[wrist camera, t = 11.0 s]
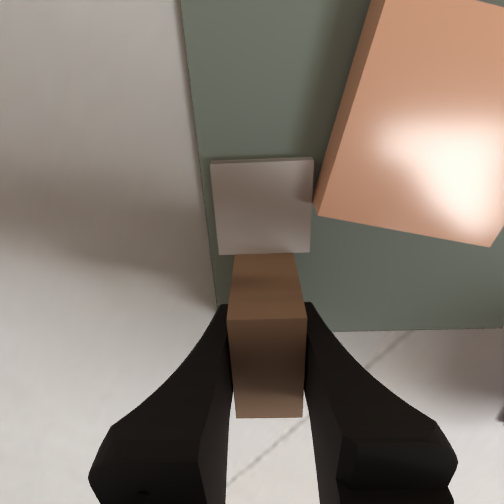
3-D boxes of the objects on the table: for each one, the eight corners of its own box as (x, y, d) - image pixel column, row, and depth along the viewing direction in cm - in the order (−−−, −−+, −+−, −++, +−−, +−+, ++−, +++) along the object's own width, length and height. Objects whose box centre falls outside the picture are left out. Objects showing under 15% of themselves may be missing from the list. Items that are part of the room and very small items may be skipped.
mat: (698, -139, 9) (716, -148, 9) (497, 322, 17) (502, 328, 17) (169, -104, 9) (166, -111, 9) (221, 329, 18) (220, 334, 17)
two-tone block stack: (303, 329, 17) (320, 417, 13) (228, 331, 17) (218, 418, 13) (311, 156, 13) (340, 197, 8) (211, 160, 13) (188, 202, 8)
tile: (463, 228, 14) (569, 42, 11) (490, 247, 13) (623, 37, 9) (310, 199, 14) (371, -7, 10) (317, 215, 12) (392, -21, 9)
